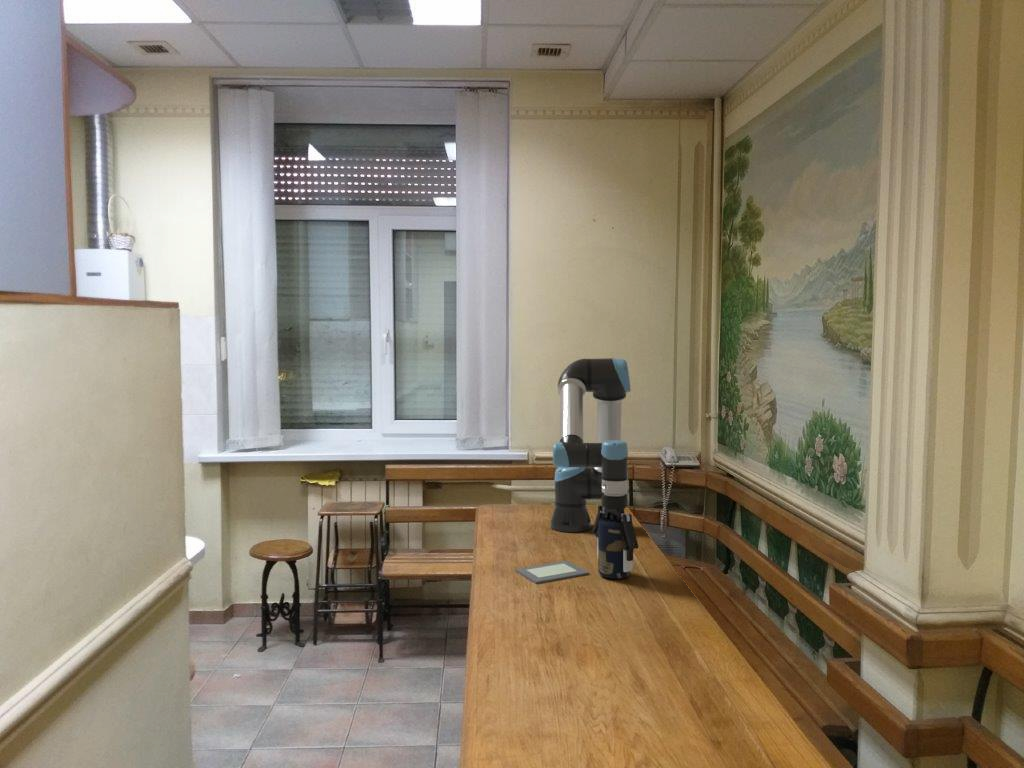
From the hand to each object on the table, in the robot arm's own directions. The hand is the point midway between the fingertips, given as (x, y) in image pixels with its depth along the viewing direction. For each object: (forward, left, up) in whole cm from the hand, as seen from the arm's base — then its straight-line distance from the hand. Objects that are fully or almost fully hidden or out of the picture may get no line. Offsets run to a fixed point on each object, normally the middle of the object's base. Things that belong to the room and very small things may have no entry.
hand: (614, 564), depth 213 cm
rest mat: (+15, -11, -3) cm, 19 cm away
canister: (0, 0, -4) cm, 4 cm away
